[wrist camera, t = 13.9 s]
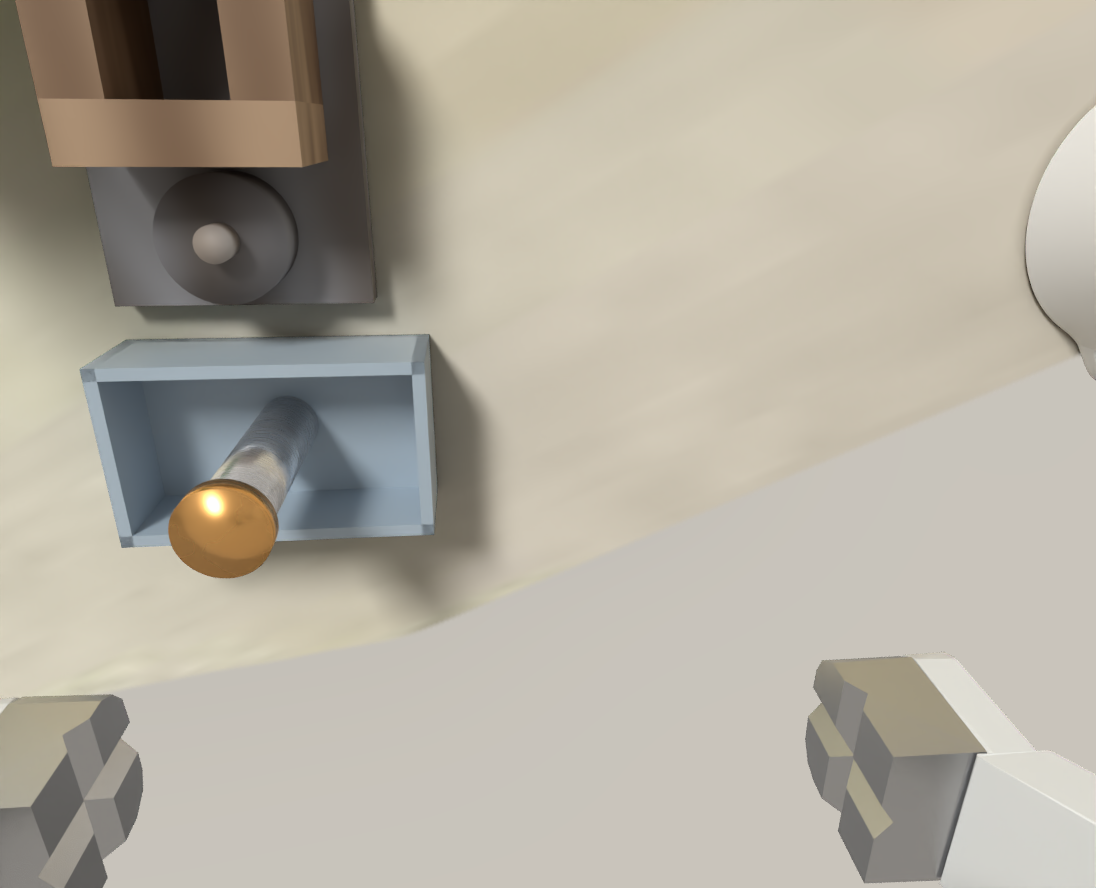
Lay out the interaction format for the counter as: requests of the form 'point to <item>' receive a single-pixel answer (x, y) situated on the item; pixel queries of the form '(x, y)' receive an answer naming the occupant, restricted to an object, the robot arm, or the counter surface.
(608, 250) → the counter surface
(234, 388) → the tray
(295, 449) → the pin
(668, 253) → the counter surface
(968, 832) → the robot arm
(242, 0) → the bracket
